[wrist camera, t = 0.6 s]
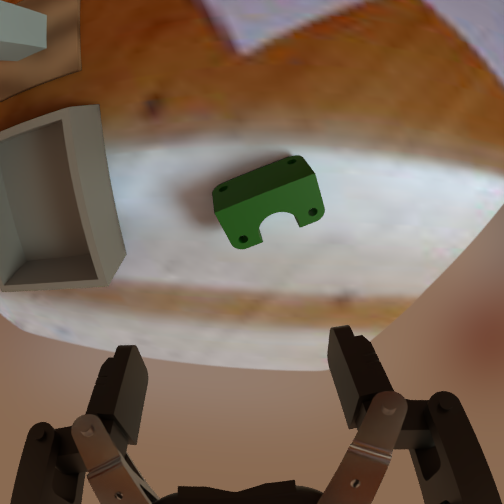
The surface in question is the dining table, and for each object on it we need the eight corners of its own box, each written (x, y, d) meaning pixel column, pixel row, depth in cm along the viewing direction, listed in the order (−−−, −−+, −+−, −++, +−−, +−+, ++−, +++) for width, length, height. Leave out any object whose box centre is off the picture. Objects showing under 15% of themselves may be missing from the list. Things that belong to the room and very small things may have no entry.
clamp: (241, 205, 43) (222, 253, 37) (224, 169, 39) (200, 215, 33) (328, 193, 38) (324, 244, 32) (317, 151, 34) (311, 199, 29)
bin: (-5, 138, 31) (-41, 150, 23) (99, 104, 31) (68, 107, 24) (27, 264, 40) (1, 292, 33) (126, 254, 40) (108, 286, 33)
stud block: (0, 16, 22) (-27, 11, 16) (81, -23, 23) (59, -38, 17) (0, 101, 28) (-28, 106, 23) (81, 70, 29) (56, 67, 23)
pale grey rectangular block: (17, 29, 23) (-35, 20, 14) (46, 15, 24) (-4, -1, 14) (17, 61, 26) (-37, 59, 16) (46, 48, 26) (-7, 40, 16)
